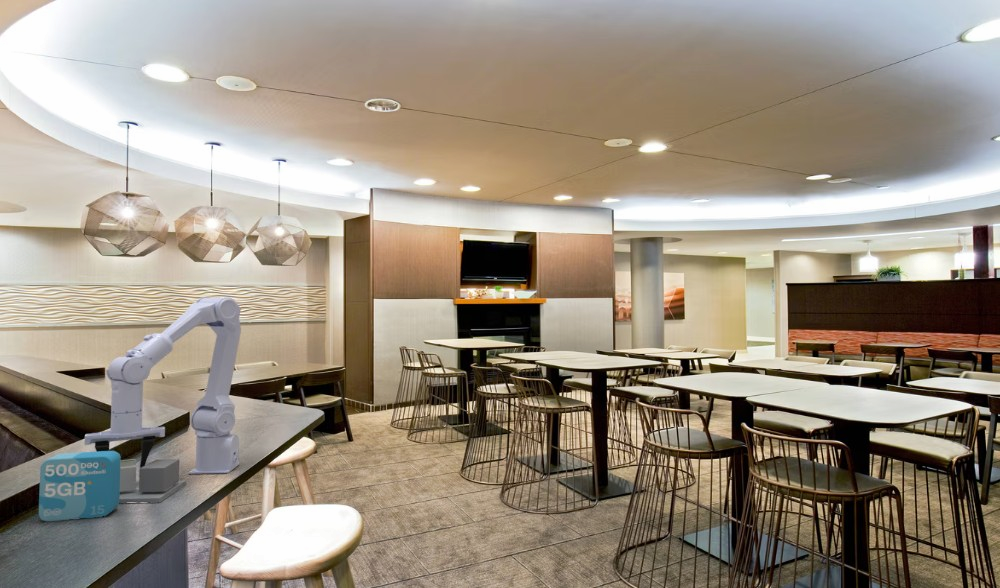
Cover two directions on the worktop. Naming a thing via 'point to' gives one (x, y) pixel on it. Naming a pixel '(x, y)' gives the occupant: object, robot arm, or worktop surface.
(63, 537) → the worktop surface
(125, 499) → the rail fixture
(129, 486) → the module
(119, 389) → the robot arm
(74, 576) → the worktop surface
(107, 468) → the data package
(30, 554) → the worktop surface
